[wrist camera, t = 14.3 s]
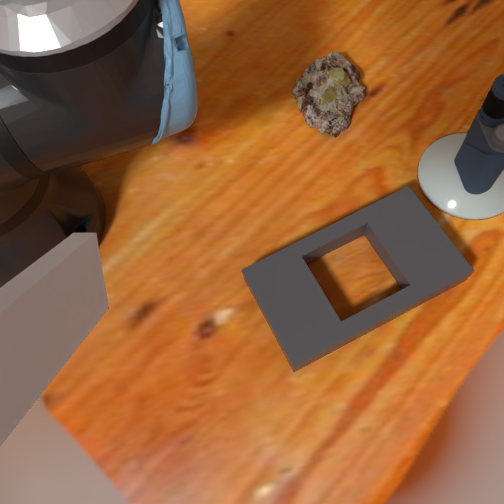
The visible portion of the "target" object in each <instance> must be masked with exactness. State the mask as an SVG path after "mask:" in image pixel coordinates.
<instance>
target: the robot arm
mask: <svg viewBox="0 0 504 504" xmlns="http://www.w3.org/2000/svg"><path fill="white" fill-rule="evenodd" d="M197 111H198V92H197V83H196V76H195V69H194V63H193V58H192V53H191V49H190V46H189V44H188V37H187V32H186V25H185V21H184V16H183V13H182V9H181V5H180V2H179V0H0V446H1V445H2V443H3V442H4V441H5V440H6V438H7V437H8V436H9V435H10V433H11V432H12V431H13V429H14V428H15V427H16V426H17V424H18V423H19V422H20V420H21V419H22V418H23V417H24V415H25V414H26V413H27V412H28V410H29V409H30V408H31V406H32V405H33V404H34V403H35V401H36V400H37V399H38V398H39V396H40V395H41V394H42V392H43V391H44V390H45V389H46V387H47V386H48V385H49V384H50V382H51V381H52V380H53V378H54V377H55V376H56V375H57V373H58V372H59V371H60V370H61V368H62V367H63V366H64V364H65V363H66V362H67V361H68V359H69V358H70V357H71V356H72V354H73V353H74V352H75V350H76V349H77V348H78V347H79V345H80V344H81V343H82V342H83V340H84V339H85V338H86V336H87V335H88V334H89V333H90V331H91V330H92V329H93V328H94V326H95V325H96V324H97V322H98V321H99V320H100V319H101V317H102V316H103V315H104V314H105V312H106V311H107V310H108V308H109V306H108V300H107V294H106V288H105V282H104V276H103V270H102V264H101V258H100V252H99V246H98V244H99V242H100V239H101V237H102V233H103V230H104V225H105V207H104V203H103V199H102V196H101V194H100V192H99V191H98V189H97V188H96V186H95V185H94V184H93V182H92V181H91V180H90V178H89V177H88V176H87V175H86V174H85V173H84V172H83V171H82V170H81V169H80V168H79V167H78V166H81V165H84V164H88V163H91V162H94V161H98V160H101V159H104V158H108V157H111V156H114V155H118V154H121V153H124V152H127V151H131V150H134V149H137V148H141V147H144V146H147V145H153V144H156V143H158V142H159V141H160V140H161V139H164V138H166V137H169V136H171V135H174V134H176V133H179V132H181V131H184V130H186V129H187V128H189V127H190V126H191V125H192V124H193V122H194V120H195V118H196V115H197Z"/></svg>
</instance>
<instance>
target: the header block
mask: <svg viewBox="0 0 504 504" xmlns="http://www.w3.org/2000/svg"><path fill="white" fill-rule="evenodd" d="M363 235H365V236H366V238H367V239H368V241H369V242H370V243H371V245H372V246H373V248H374V249H375V251H376V252H377V254H378V255H379V257H380V258H381V260H382V261H383V262H384V264H385V265H386V267H387V268H388V270H389V271H390V273H391V274H392V276H393V277H394V278H395V280H396V281H397V283H398V284H399V286H400V287H401V289H402V290H400V291H398V292H396V293H394V294H393V295H391V296H389V297H387V298H385V299H383V300H381V301H379V302H377V303H376V304H374V305H372V306H370V307H368V308H366V309H364V310H362V311H360V312H358V313H357V314H355V315H353V316H351V317H349V318H347V319H345V320H343V321H341V320H340V319H339V317H338V315H337V314H336V312H335V310H334V309H333V307H332V305H331V304H330V302H329V300H328V299H327V297H326V296H325V294H324V292H323V291H322V289H321V287H320V286H319V284H318V282H317V281H316V279H315V277H314V276H313V274H312V272H311V271H310V269H309V267H308V266H307V264H308V263H310V262H312V261H314V260H315V259H317V258H319V257H321V256H323V255H325V254H327V253H329V252H331V251H333V250H335V249H337V248H339V247H341V246H343V245H345V244H347V243H349V242H351V241H353V240H355V239H357V238H359V237H361V236H363ZM473 272H474V270H473V268H472V267H471V266H470V264H469V263H468V262H467V260H466V259H465V258H464V257H463V255H462V254H461V253H460V251H459V250H458V249H457V248H456V246H455V245H454V244H453V242H452V241H451V240H450V239H449V237H448V236H447V235H446V233H445V232H444V231H443V230H442V228H441V227H440V226H439V224H438V223H437V222H436V220H435V219H434V218H433V217H432V215H431V214H430V213H429V211H428V210H427V209H426V208H425V206H424V205H423V204H422V202H421V201H420V200H419V199H418V197H417V196H416V195H415V193H414V192H413V191H412V190H411V188H410V187H409V186H407V187H405V188H403V189H401V190H399V191H397V192H395V193H393V194H391V195H389V196H387V197H385V198H383V199H381V200H379V201H377V202H375V203H373V204H371V205H369V206H367V207H365V208H363V209H361V210H359V211H357V212H355V213H353V214H351V215H349V216H347V217H345V218H343V219H341V220H339V221H337V222H336V223H334V224H332V225H330V226H328V227H326V228H324V229H322V230H320V231H318V232H316V233H314V234H312V235H310V236H308V237H306V238H304V239H302V240H300V241H298V242H296V243H294V244H292V245H290V246H288V247H286V248H284V249H282V250H280V251H278V252H276V253H274V254H272V255H270V256H268V257H266V258H264V259H262V260H260V261H258V262H256V263H254V264H252V265H250V266H248V267H246V268H244V269H242V273H243V276H244V279H245V281H246V283H247V285H248V287H249V289H250V291H251V292H252V294H253V296H254V298H255V300H256V302H257V304H258V306H259V307H260V309H261V311H262V313H263V315H264V317H265V319H266V321H267V322H268V324H269V326H270V328H271V330H272V332H273V334H274V336H275V337H276V339H277V341H278V343H279V345H280V347H281V349H282V351H283V352H284V354H285V356H286V358H287V360H288V362H289V364H290V366H291V367H292V369H293V371H294V372H295V371H297V370H299V369H301V368H303V367H305V366H307V365H308V364H310V363H312V362H314V361H316V360H318V359H320V358H322V357H323V356H325V355H327V354H329V353H331V352H333V351H335V350H336V349H338V348H340V347H342V346H344V345H346V344H348V343H350V342H351V341H353V340H355V339H357V338H359V337H361V336H363V335H365V334H366V333H368V332H370V331H372V330H374V329H376V328H378V327H380V326H381V325H383V324H385V323H387V322H389V321H391V320H393V319H395V318H396V317H398V316H400V315H402V314H404V313H406V312H408V311H410V310H411V309H413V308H415V307H417V306H419V305H421V304H423V303H425V302H426V301H428V300H430V299H432V298H434V297H436V296H438V295H440V294H441V293H443V292H445V291H447V290H449V289H451V288H453V287H454V286H456V285H458V284H460V283H462V282H464V281H466V280H467V278H468V277H469V276H470V275H471V274H472V273H473Z"/></svg>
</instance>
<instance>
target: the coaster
mask: <svg viewBox="0 0 504 504" xmlns="http://www.w3.org/2000/svg"><path fill="white" fill-rule="evenodd" d="M466 135H467V133H457V134H451V135H448V136H445V137H442V138H440V139H438V140H437V141H435V142H434V143H432V144H431V145H430V146H429V147H428V148H427V149H426V150H425V152H424V153H423V155H422V157H421V159H420V162H419V165H418V171H417V174H418V182H419V185H420V188H421V190H422V192H423V193H424V195H425V196H426V198H427V199H428V200H429V201H430V202H431V203H432V204H433V205H434V206H435V207H437V208H438V209H439V210H441V211H443V212H445V213H446V214H449V215H451V216H454V217H457V218H461V219H466V220H483V219H489V218H492V217H495V216H498V215H500V214H502V213H503V212H504V170H503V171H502V173H501V174H500V176H499V177H498V178H497V180H496V181H495V183H494V184H493V186H492V187H491V188H490V189H489V190H488V191H486V192H484V193H482V194H478V195H475V194H470V193H468V192H467V191H466V190H465V189H464V187H463V184H462V181H461V179H460V176H459V173H458V171H457V168H456V165H455V163H454V159H455V157H456V155H457V153H458V151H459V149H460V147H461V145H462V143H463V141H464V139H465V137H466Z"/></svg>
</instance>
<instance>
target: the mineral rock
mask: <svg viewBox="0 0 504 504" xmlns="http://www.w3.org/2000/svg"><path fill="white" fill-rule="evenodd" d="M360 77H361V76H360V73H359V72H358V71H357V70H356V69H355V67H354V65H351V64H350V62H349V61H348V60H347V59H346V58H344V56H343V55H342V54H341V53H340V52H331V53H330V54H329V55H326V56H324V57H323V58H321V59H316V60H315V61H314V62H313V63H312V64H311V65H310V66H308V68H307V69H305V71H303V75H302V76H301V78H300V79H299V78H297V80H296V81H295V83H296V87H294V88H293V89H292V92H293V93H294V95H295V99H297V104H298V107H299V109H300V110H301V113H302V114H303V115H304V116H305V118H306V120H305V121H306V123H307V124H308V125H309V126H310V127H315V128H317V130H318V131H319V132H320V134H323V133H328V134H329V135H330V136H332V137H337V136H338V135H339V132H340V131H345V130H346V129H347V127H348V126H349V124H350V119H351V118H352V114H351V112H352V110H353V106H355V105H356V104H358V102H361V101H362V100H363V98H364V97H365V96H366V94H365V89H366V88H365V87H364V86H362V85H361V84H359V82H358V81H359V80H360Z"/></svg>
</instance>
